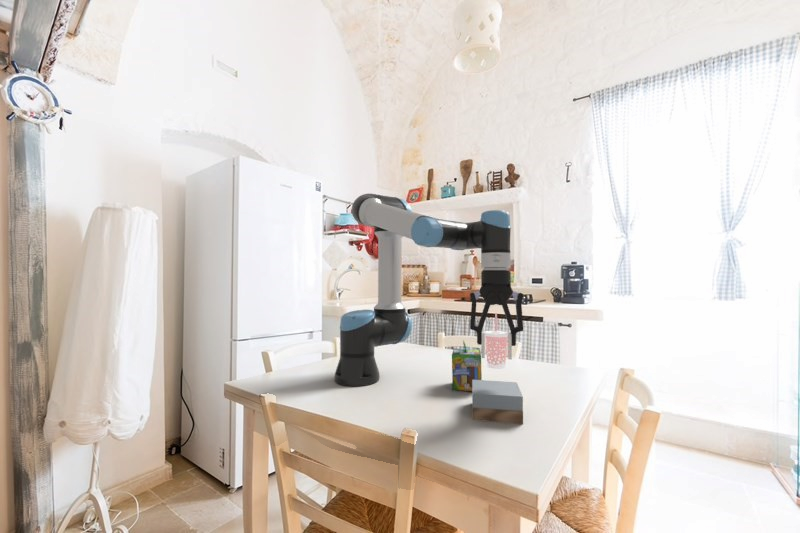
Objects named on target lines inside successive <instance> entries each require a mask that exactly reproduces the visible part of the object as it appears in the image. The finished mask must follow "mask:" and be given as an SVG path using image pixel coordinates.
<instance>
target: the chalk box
mask: <svg viewBox="0 0 800 533" xmlns="http://www.w3.org/2000/svg"><path fill="white" fill-rule="evenodd" d="M462 343H463V348H453V349H452V353H451V373H452V375H451V378H452V379H451V381H452V391H453V392H454V391H458V392H459V391H462V392H472V380H483V379H482V376H483V375H482V351H481V350H480V349H473V348H467V345H466V342H465V340H463V341H462Z"/></svg>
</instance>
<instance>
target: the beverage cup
mask: <svg viewBox="0 0 800 533" xmlns="http://www.w3.org/2000/svg"><path fill="white" fill-rule="evenodd" d="M494 315H495V316H494V323H495V324H494V329H495V330H486V331H483V332H484V333H485V350H486V351H485V352H486V362H487V363H486V365H487V368H489V369H494V370H495V369H496V370H504V369H506V362H507V350H508V332H509V331H508V332H507V331H504V330H503V331H502V330H498V313H497V312H495V313H494Z"/></svg>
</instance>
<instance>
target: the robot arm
mask: <svg viewBox="0 0 800 533" xmlns="http://www.w3.org/2000/svg"><path fill="white" fill-rule="evenodd" d="M351 214H352V218H353V219H354V220H355V222H357V223H358V224H360V225H361V226H365V227H368V228H369V227H370V228H373V230H374V232H373V233H374V235H375V236H376V237H377V238H378V243H377V244H378V245H377V246H378V253H377V254H378V255H377V258H378V262H377V264H378V265H377V266H378V268H377V271H378V272H377V282H378V284H377V303H376V305H375V306H374V307H373V310H372V309H359V310H351V311H348V312H345V313H344V314H342V316H341V317H340V324H339V330H340V331H339V332H340V333H339V336H340V337H339V338H340V340H339V341H340V342H339V346H340V347H339V348H340V349H339V352H340V354H339V360H338V363H337V366H336V370H335V373H334V381H335V383H336V384H338V385H342V386H346V387H347V386H349V387H361V386H362V387H363V386H368V385H373V384H375V383H377V382H379V380H380V372H379V368H378V364H377V361H376V358H375V347H379V346H387V345H396V344H399V343H403V342H405V341H407V339H409V337H410V335H411V332H412V329H413V322H412V318H411V315H410V314H409V313H408V312H407V311H406V306H405V305H404V304H403V303H402V244H403V243H402V240H403V237H404V238H407V239H410V240H412V241H413V242H414V244H415V245H417V246H420V247H421V246H422V247H425V248H443V249H444V248H445V249H451V250H455V251H465V250H474V249H480V252H481V253H480V254H481V256H480V259H481V260H480V261H481V263H480V264H481V269H482V271H481V273H480V274H481V276H480V280H481V281H480V282H481V284H480V289H479V290H477V291H474V292H473V291H471V292H470V293H469V296H470V300H471V308H470V324H469V325H470V326H469V329H470V330H472V331H474V332H476V343H477V345H479V346H481V359H485V358H486V357H485V354H486V353H485V352H486V351H485V350H486V337H485V333H484V332H485V331H483V328H484V325H485V321H486V319H487V315H488V313H489V309H490V308H491V306H494V305H495V306H496V305H497V306H501V307H502V309H503V312H504V315H505V318H506V321H507V325H508V327H509V330H510V332H509V331H508V336H507V359H508V360H512V359H513V358H512V355H513V354H512V350H513V349H512V347H515V346H516V345H517V333H521V332H524V320H523V318H524V317H523V307H522V301H523V299H524V298H523V297H524V294H523V293H522V292H517V291H513V288H512V278H511V276H512V275H511V274H512V272H511V270H509V269H511V263H512V262H511V231H512V230H511V229H512V226H511V216H510V213H509V212H508V211H506V210H502V209H501V210H500V209H499V210H498V209H493V210H491V209H490V210H486V211H482V212H481V214H480V220H479V221H472V222H463V221H462V222H461V221H455V220H446V219H440V218H436V217H432V216H430V215H429V216H428V215H425V214H421V213H417V212H413V211H412V207H411V205H410V204H409V203H408V201H407V200H405V199H402V198H398V197H396V196H388V195H380V194H376V193H364V194H361V195H359V196H358V197H356V199H355V200H354V201H353V203H352V205H351ZM480 296H481V297H482V298H483V300H484V301H485V302H484V306H483V309H482V312H481V315H480V319H479V321H478V324H477V325H476V314H477V300H479V298H480ZM511 296H513V300H515V312H516V313H515V315H516V326H515V324H514V321H513V317H512V315H511V313H510V309H509V306H508V303H507V302H508V300H509V299H510V298H511Z"/></svg>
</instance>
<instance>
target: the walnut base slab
mask: <svg viewBox="0 0 800 533" xmlns="http://www.w3.org/2000/svg"><path fill="white" fill-rule="evenodd" d="M472 420H473V421H474V420H475V421H484V422H492V423H493V422H494V423H495V422H496V423H504V424H507V423H508V424H515V425H516V424H517V425H524V411H512V410H499V409H486V408H473V407H472Z"/></svg>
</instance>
